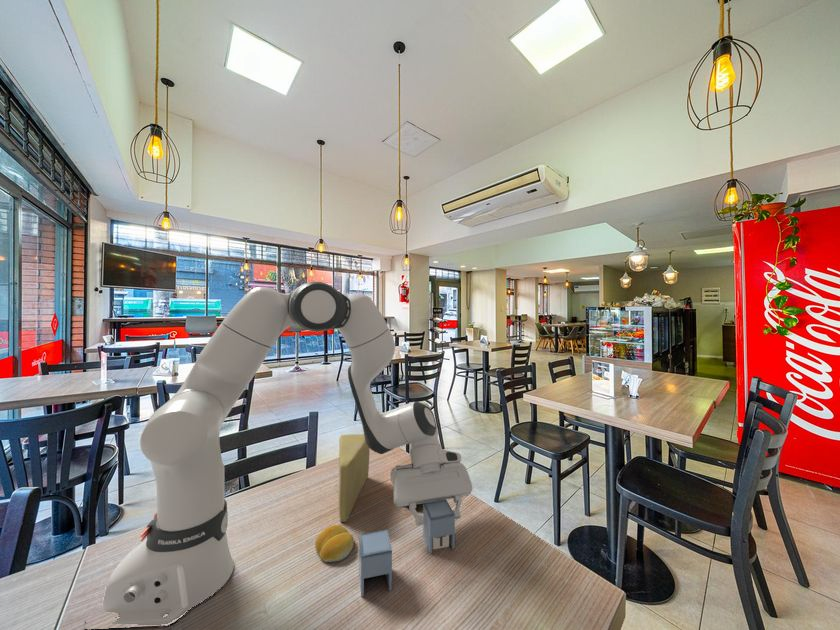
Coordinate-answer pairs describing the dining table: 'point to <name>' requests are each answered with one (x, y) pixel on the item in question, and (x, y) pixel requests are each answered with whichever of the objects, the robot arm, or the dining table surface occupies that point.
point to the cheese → (351, 471)
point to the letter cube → (440, 542)
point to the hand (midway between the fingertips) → (438, 521)
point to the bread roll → (334, 543)
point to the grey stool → (438, 522)
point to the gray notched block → (375, 557)
